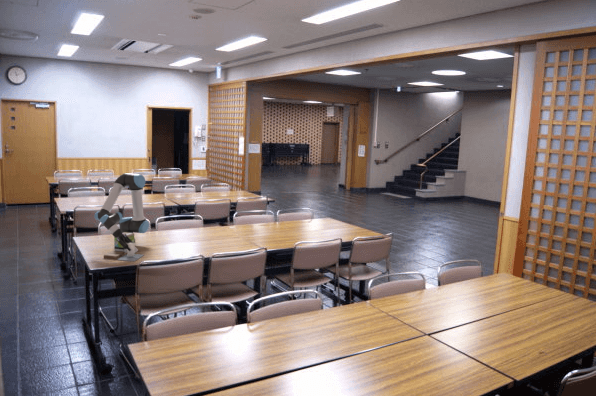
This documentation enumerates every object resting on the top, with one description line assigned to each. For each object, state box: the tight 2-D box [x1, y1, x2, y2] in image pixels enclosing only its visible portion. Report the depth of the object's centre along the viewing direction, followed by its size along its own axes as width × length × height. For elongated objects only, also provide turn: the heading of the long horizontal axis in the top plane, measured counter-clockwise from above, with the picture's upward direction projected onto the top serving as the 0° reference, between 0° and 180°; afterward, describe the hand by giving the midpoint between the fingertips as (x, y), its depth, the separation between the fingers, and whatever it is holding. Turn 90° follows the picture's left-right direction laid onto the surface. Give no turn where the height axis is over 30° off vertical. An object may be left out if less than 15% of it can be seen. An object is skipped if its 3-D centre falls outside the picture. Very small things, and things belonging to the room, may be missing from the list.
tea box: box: [113, 232, 135, 254], centre depth 393 cm, size 15×10×15 cm, turn 168°
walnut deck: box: [103, 250, 126, 260], centre depth 377 cm, size 14×11×2 cm
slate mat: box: [116, 253, 145, 262], centre depth 375 cm, size 18×14×1 cm
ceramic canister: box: [126, 242, 136, 256], centre depth 374 cm, size 6×6×10 cm
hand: (135, 252), depth 374 cm, fingers closed on ceramic canister, 5 cm apart
